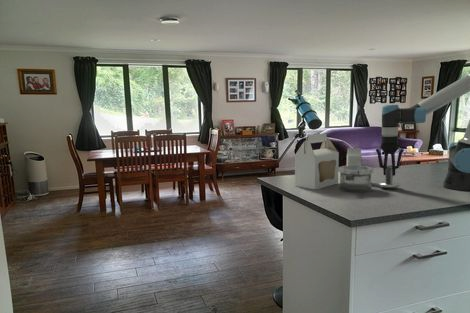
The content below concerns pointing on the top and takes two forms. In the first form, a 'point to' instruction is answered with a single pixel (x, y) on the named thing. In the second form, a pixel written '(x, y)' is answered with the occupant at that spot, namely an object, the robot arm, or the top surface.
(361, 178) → the pot
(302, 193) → the top surface
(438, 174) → the top surface
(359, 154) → the milk carton
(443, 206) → the top surface
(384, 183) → the lid
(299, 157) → the gable box
